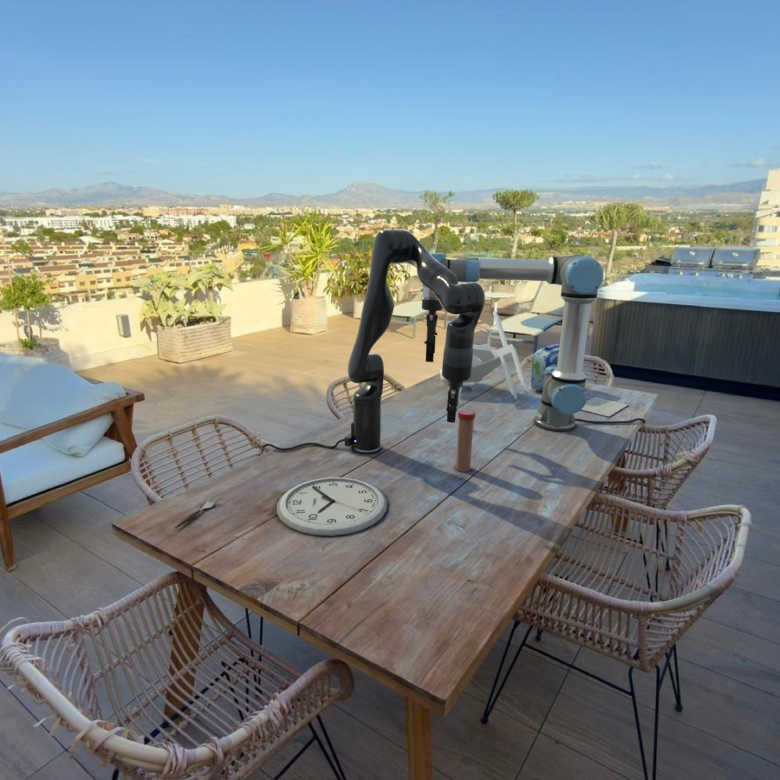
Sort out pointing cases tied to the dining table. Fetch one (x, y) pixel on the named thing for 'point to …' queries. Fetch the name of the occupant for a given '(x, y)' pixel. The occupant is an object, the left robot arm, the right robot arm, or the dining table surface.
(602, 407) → the invitation card
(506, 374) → the white plastic object
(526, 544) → the dining table surface
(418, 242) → the left robot arm
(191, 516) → the fork
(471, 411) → the lid
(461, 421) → the wooden cylinder
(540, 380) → the lunch box
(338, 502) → the wall clock
